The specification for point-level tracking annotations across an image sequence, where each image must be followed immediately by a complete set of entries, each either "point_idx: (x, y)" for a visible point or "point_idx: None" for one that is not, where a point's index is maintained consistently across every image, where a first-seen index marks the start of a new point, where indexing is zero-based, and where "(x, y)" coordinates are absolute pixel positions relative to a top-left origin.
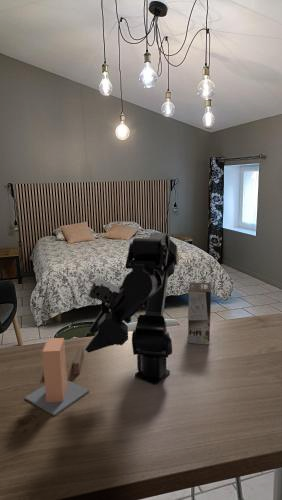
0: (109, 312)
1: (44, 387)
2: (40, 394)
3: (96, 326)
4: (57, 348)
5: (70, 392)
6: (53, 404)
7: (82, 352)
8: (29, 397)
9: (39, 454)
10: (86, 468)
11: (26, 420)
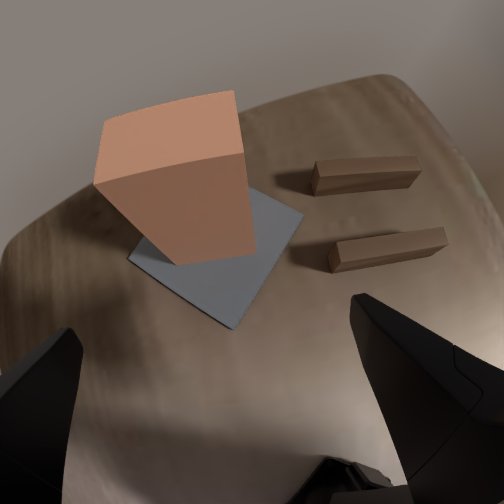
0: (467, 494)
1: None
2: None
3: (375, 352)
4: (116, 165)
5: (219, 274)
6: None
7: (423, 251)
8: None
9: (43, 266)
10: (20, 356)
11: None
